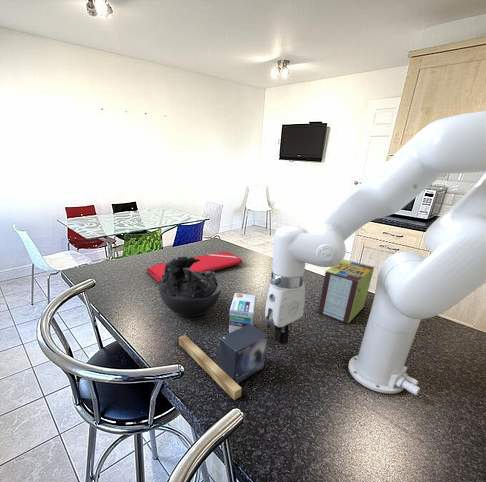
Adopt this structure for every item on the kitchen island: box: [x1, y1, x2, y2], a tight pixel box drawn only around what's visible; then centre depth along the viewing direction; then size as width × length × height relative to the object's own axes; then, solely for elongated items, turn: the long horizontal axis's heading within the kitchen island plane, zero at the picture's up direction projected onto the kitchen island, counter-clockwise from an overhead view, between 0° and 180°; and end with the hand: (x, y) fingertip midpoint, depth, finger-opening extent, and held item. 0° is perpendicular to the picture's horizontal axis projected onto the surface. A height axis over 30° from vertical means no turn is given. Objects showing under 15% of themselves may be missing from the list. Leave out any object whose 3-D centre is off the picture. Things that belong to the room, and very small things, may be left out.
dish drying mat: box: [146, 251, 244, 284], centre depth 131 cm, size 16×41×4 cm, turn 121°
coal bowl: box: [158, 255, 222, 317], centre depth 94 cm, size 20×20×19 cm
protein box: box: [317, 258, 375, 325], centre depth 98 cm, size 10×15×16 cm
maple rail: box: [178, 334, 243, 401], centre depth 73 cm, size 24×2×2 cm, turn 36°
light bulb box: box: [228, 292, 257, 334], centre depth 85 cm, size 11×7×11 cm, turn 168°
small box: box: [217, 324, 269, 385], centre depth 71 cm, size 11×6×10 cm, turn 128°
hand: (280, 341), depth 77 cm, fingers closed
